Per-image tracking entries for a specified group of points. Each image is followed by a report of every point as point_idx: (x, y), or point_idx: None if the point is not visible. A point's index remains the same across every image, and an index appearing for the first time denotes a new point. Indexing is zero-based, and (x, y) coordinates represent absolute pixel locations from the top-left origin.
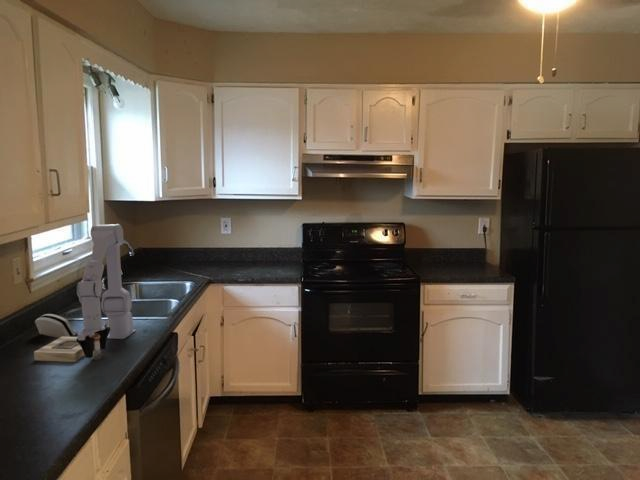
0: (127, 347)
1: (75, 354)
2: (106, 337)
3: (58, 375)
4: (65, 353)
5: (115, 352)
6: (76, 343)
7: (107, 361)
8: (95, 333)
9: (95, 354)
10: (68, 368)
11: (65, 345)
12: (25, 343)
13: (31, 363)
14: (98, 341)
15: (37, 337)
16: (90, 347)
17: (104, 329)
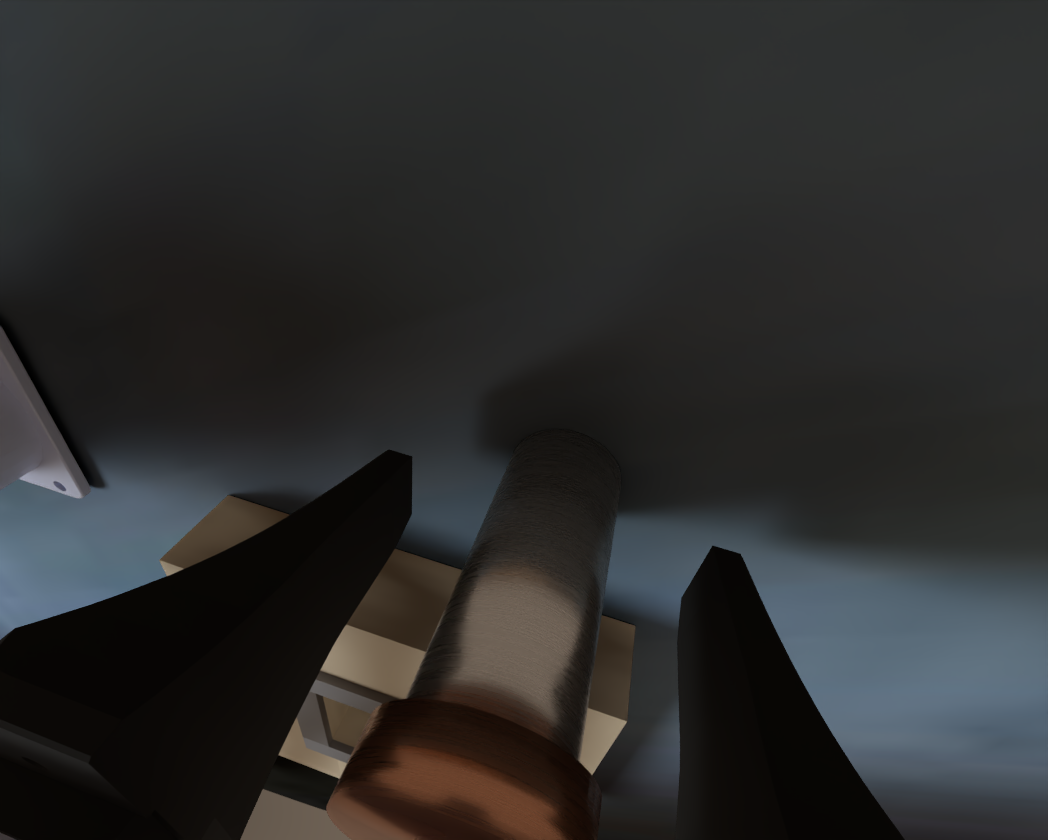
0: (162, 163)
1: (610, 693)
2: (262, 562)
3: (1011, 716)
4: (601, 759)
5: (366, 291)
6: (365, 706)
7: (726, 308)
8: (267, 763)
9: (612, 525)
10: (816, 659)
11: (356, 713)
12: (321, 780)
13: (603, 793)
14: (516, 671)
15: None
16: (845, 761)
17: (120, 796)
